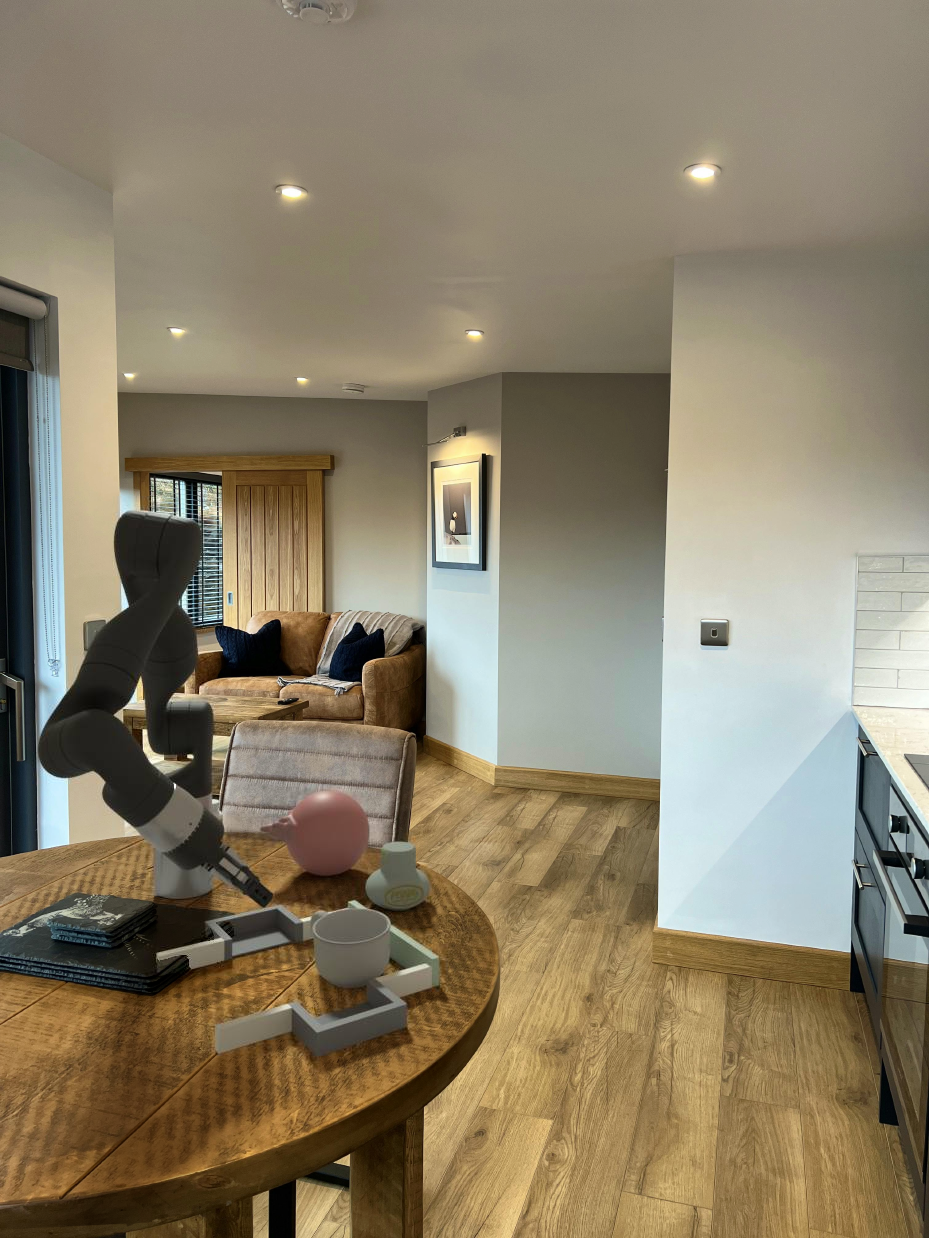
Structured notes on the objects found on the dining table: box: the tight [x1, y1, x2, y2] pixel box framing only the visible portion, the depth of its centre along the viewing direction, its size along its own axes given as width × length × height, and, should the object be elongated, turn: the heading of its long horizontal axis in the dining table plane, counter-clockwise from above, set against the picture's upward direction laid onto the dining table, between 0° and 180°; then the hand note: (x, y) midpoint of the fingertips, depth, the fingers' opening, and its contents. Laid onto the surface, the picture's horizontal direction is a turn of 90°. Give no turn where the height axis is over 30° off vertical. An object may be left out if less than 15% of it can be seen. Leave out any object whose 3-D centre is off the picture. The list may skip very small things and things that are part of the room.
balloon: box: [259, 789, 371, 877], centre depth 165 cm, size 15×20×15 cm
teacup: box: [310, 908, 392, 989], centre depth 126 cm, size 14×11×8 cm
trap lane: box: [156, 900, 440, 1058], centre depth 124 cm, size 31×38×4 cm
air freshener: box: [365, 841, 431, 912], centre depth 152 cm, size 11×8×10 cm
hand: (267, 900), depth 122 cm, fingers closed
